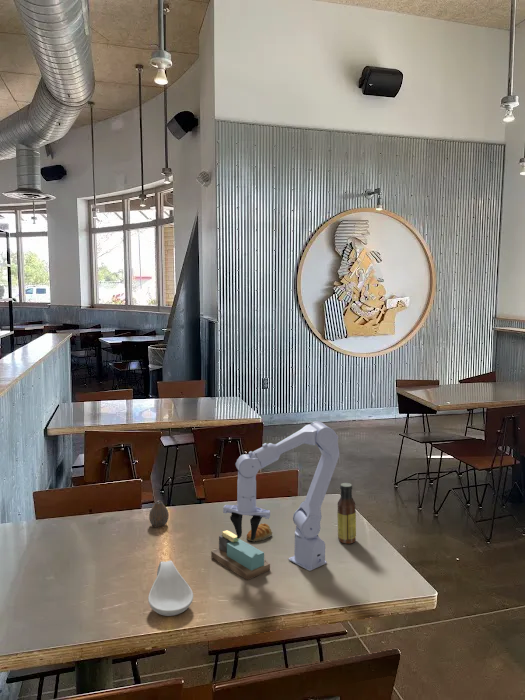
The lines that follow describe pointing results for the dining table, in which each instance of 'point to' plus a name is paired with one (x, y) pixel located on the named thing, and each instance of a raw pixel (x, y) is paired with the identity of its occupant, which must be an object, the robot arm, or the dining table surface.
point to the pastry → (261, 533)
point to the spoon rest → (169, 591)
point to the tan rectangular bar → (230, 536)
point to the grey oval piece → (158, 514)
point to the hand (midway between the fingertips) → (246, 537)
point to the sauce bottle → (346, 515)
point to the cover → (245, 554)
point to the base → (222, 558)
